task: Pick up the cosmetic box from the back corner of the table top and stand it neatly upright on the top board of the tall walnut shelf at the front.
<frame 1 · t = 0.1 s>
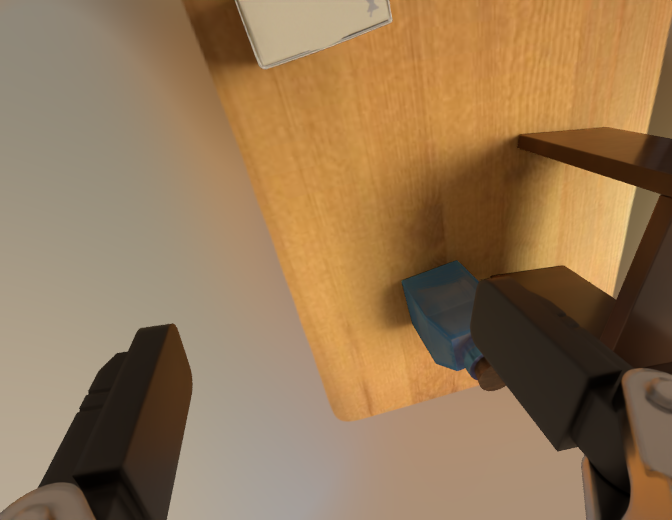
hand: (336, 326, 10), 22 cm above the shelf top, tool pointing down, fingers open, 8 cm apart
perfume bottle: (433, 292, 39), on the shelf top
walnut shelf: (542, 213, 36), on the shelf top
cosmetic box: (289, 19, 25), on the shelf top
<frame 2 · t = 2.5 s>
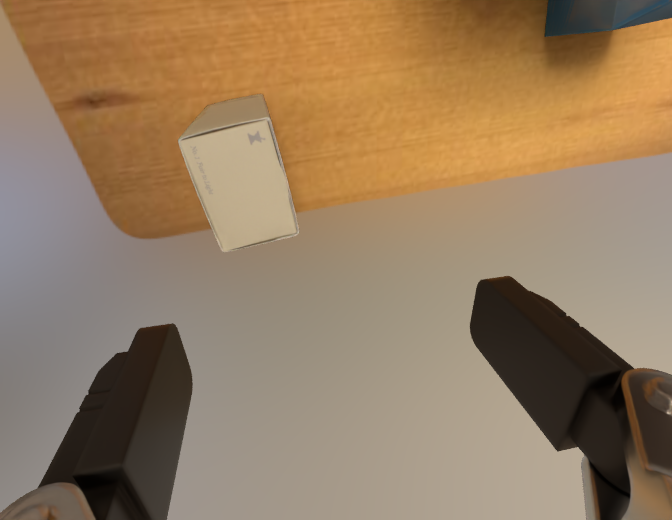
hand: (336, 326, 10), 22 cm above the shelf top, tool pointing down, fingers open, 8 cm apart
cosmetic box: (248, 141, 28), on the shelf top
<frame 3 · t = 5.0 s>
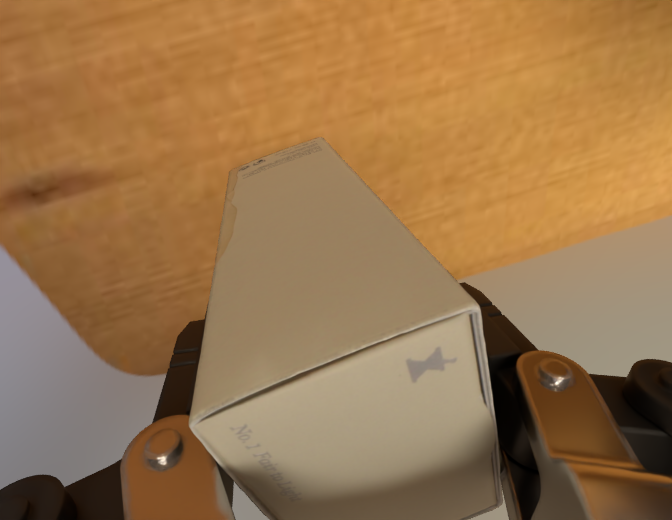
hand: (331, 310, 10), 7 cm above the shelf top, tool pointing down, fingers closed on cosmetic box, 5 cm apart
cosmetic box: (302, 214, 17), on the shelf top, touching gripper
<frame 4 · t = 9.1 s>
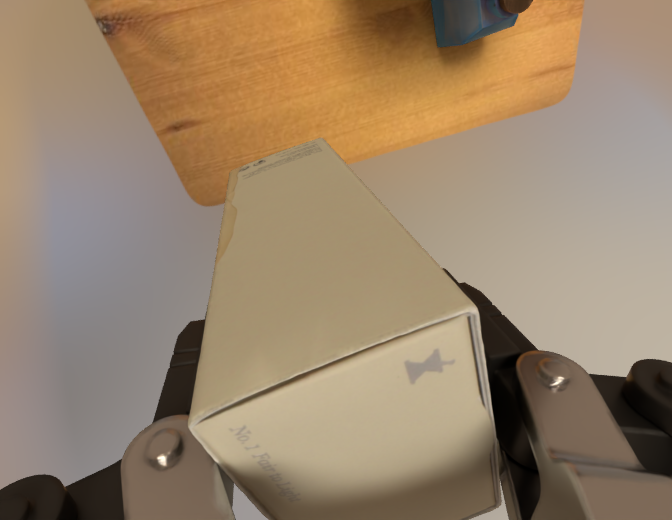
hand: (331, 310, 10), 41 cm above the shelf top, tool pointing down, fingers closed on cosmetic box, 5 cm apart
perfume bottle: (456, 10, 44), on the shelf top
cosmetic box: (302, 215, 17), point 33 cm above the shelf top, touching gripper
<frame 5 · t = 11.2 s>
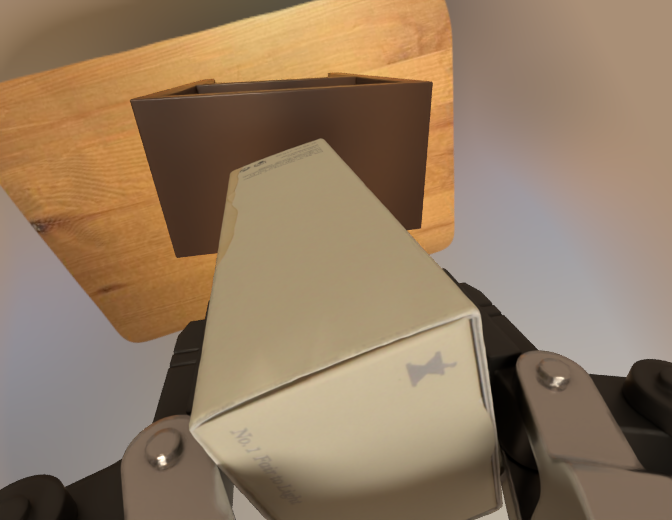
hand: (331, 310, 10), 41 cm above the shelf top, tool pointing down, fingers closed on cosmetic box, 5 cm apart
walnut shelf: (277, 115, 45), on the shelf top
cosmetic box: (302, 215, 17), point 33 cm above the shelf top, touching gripper
when the fingers open (35 cm above the shelf top, at t = 13.0 s): cosmetic box stays where it is, resting on walnut shelf.
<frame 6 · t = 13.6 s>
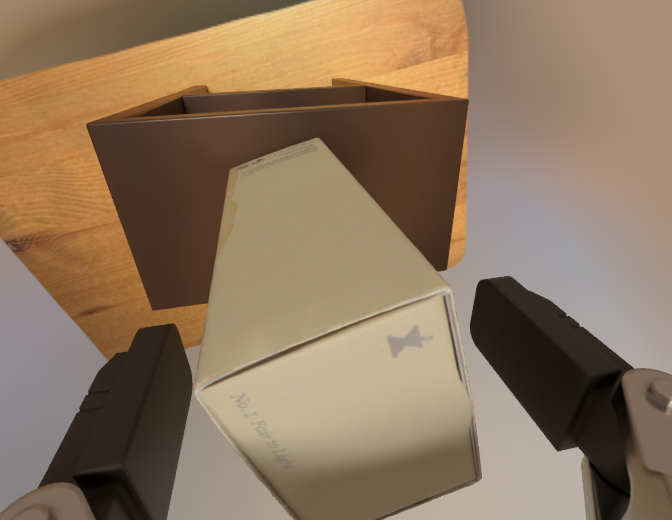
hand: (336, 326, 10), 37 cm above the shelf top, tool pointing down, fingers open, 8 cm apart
walnut shelf: (275, 125, 41), on the shelf top
cosmetic box: (299, 212, 17), point 28 cm above the shelf top, touching walnut shelf
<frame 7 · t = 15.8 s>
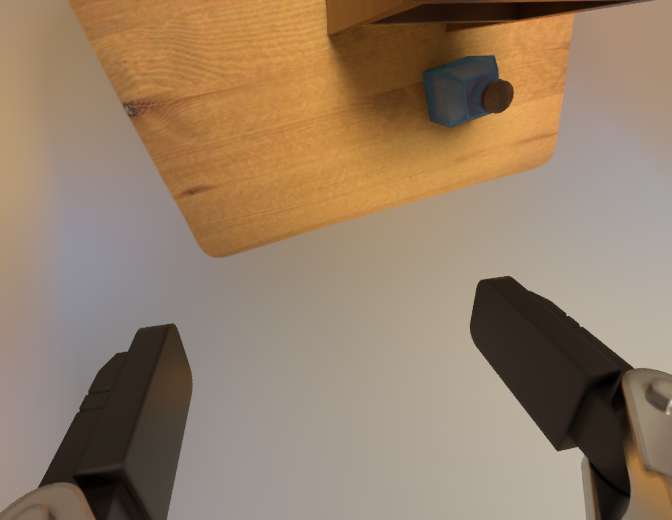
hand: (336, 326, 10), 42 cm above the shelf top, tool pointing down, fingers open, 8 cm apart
perfume bottle: (447, 89, 48), on the shelf top
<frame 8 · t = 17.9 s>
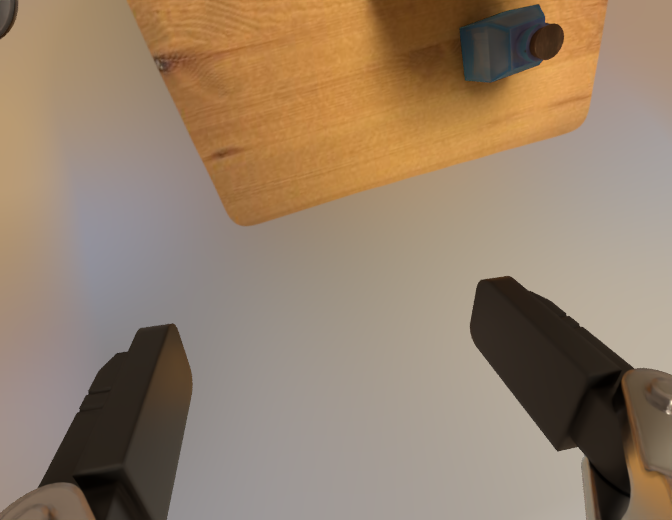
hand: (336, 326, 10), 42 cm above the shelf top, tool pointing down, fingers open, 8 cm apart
perfume bottle: (483, 47, 47), on the shelf top
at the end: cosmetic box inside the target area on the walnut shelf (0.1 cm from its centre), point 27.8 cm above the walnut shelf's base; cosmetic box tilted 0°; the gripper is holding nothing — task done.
